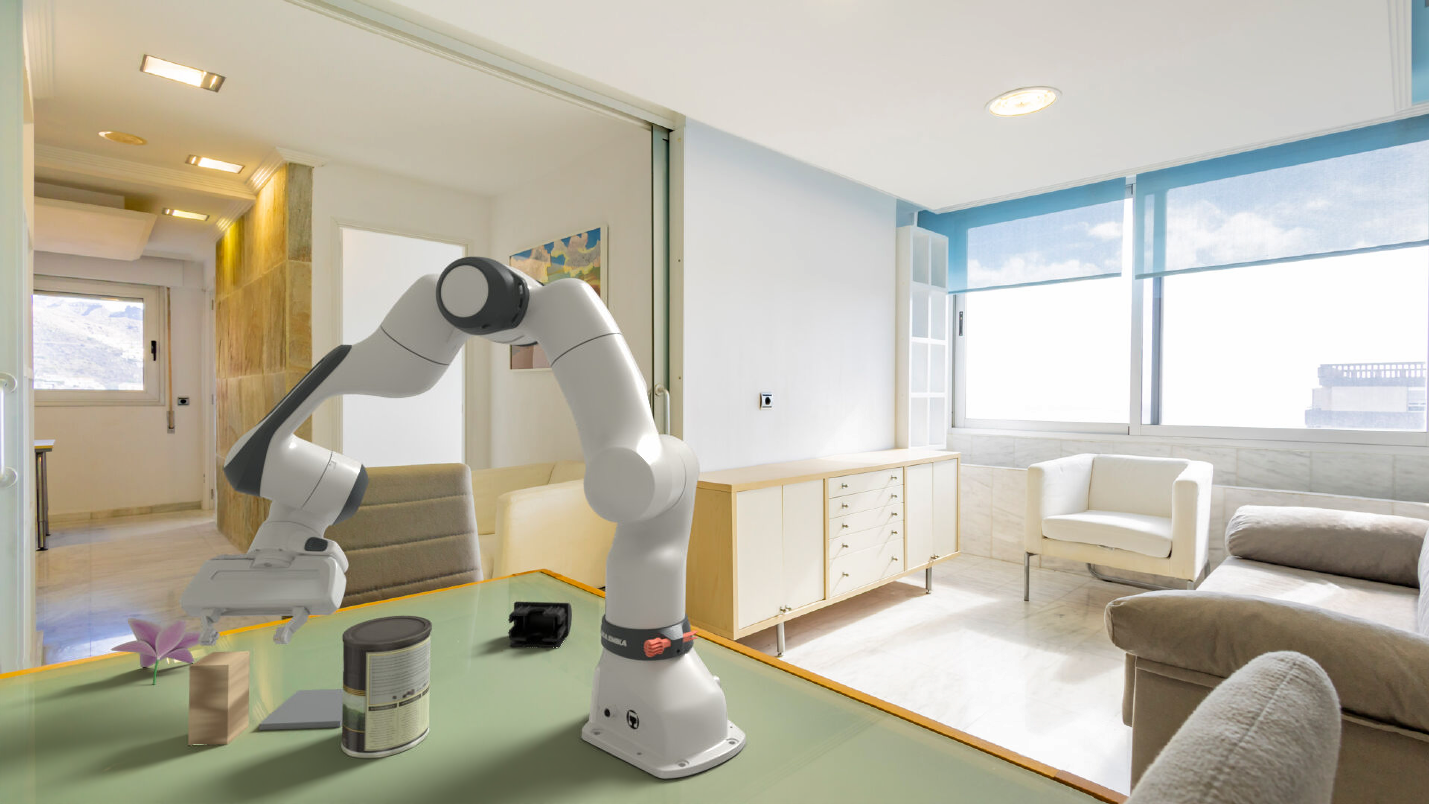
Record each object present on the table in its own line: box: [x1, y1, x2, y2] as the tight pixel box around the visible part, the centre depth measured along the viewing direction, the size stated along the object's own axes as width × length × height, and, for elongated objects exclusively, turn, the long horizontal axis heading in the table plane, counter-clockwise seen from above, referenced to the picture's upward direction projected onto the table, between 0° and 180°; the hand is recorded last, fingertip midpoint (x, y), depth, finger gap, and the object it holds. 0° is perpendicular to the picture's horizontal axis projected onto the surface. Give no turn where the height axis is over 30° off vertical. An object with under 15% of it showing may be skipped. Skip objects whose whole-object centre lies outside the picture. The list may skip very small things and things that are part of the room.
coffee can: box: [340, 615, 433, 759], centre depth 84 cm, size 10×10×14 cm
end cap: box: [507, 601, 573, 649], centre depth 119 cm, size 10×7×7 cm
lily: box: [110, 617, 202, 685], centre depth 102 cm, size 12×12×10 cm
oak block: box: [187, 650, 251, 746], centre depth 84 cm, size 4×4×10 cm
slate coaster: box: [258, 688, 343, 731], centre depth 91 cm, size 10×10×1 cm
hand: (243, 643), depth 89 cm, fingers open, 8 cm apart
